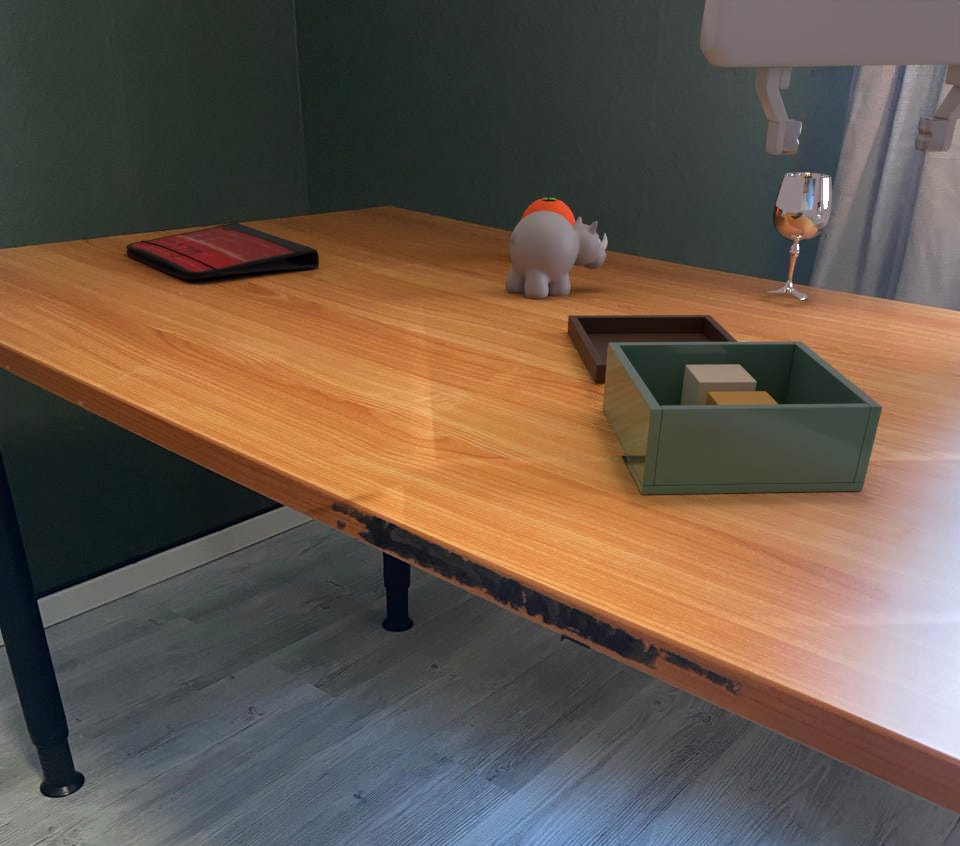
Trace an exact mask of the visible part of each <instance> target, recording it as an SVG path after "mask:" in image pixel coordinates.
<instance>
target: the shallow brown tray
mask: <svg viewBox="0 0 960 846" xmlns="http://www.w3.org/2000/svg"><path fill="white" fill-rule="evenodd" d="M567 334H568V336H569V338H570V340H571V341H572V342H571V343H572V344H573V345H574V347H575V349H576V351H577V353H578V355H579V357H580V358H581V360H582V362H583V364H584V366H585V368H586V370H587V371H588V373H589V375H590V377H591V379H592V381H593V383H594V384H595V385H605V375H606V363H607V351H608V343H609V342H617V343H619V342H739V341H738V340H737V339H736V338H735V337H734V336H732V335H731V334H730V332H729V331H727V330H726V329H725V328H724V326H722V325H721V324H720V323H719V322H718V321H717V320H716V319H715V318H714V317H713V316H712V315H711V314H626V315H625V314H621V315H620V314H613V315H611V314H608V315H607V314H605V315H604V314H601V315H600V314H599V315H593V314H592V315H588V314H587V315H586V314H585V315H580V314H579V315H574V314H573V315H568V317H567Z"/></svg>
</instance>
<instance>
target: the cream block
mask: <svg viewBox="0 0 960 846" xmlns="http://www.w3.org/2000/svg"><path fill="white" fill-rule="evenodd" d="M755 388H756V381H755V380H754V379H753V378H752V377H751V376H750V375H749V373H748V372H747V371H746V370H745V369H744V368H743V367H742V366H741V365H739V364H721V365H686V366H685V373H684V381H683V389H682V397H681V405H706V401H707V393H708V392H742V391H755Z"/></svg>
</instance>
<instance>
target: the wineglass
mask: <svg viewBox="0 0 960 846" xmlns="http://www.w3.org/2000/svg"><path fill="white" fill-rule="evenodd" d="M832 185H833V184H832V176H831V175H829V174H825V173H818V172H800V171H799V172H797V171H795V172H787V173H785V174H784V175H783V177H782V180H781V183H780V186H779V188H778V191H777V193H776V196H775V197H776V198H775V200H774V204H773V211H772V223H773V227H774V229H775V231H776V232H777V233H778V234H779V235H780V236H782V237H783V238H785V239H787V240H789V241H791V242H792V243H793V244H792V245H791V247H790V250H789V269H788V274H787V279H786V283H785V284H784V285H783V286H782V287H781V288H777V289H771V290H768V291H766V294H768V293H769V294H777V293H778V294H781V293H785V294H786V293H787V294H792V295H793V296H795V297H797V298H798V299H799V300H801V301H803V300H807V299H808V298H809V295H808V294H807V293H805V292H803V291H799V290H797V289H795V287H794V285H793V277H794V271H795V266H796V263H797V259H798V257H799V256H800V251H801V247H800V243H801V242H805V241H808V240H811V239H813V238H815V237H817V236H819V235H820V234H821V233H822V232H823V231H824V229H825V228H826V227H827V224H828V222H829V220H830V216H831V212H832V201H833V186H832Z"/></svg>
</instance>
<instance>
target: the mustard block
mask: <svg viewBox="0 0 960 846" xmlns="http://www.w3.org/2000/svg"><path fill="white" fill-rule="evenodd" d="M770 404H778V403H777V402H776V401H775V400H774V399H773V398H772V397H771V396H770V395H769V394H768V393H767V392H766V391H742V392H708V393H707V401H706V405H770Z"/></svg>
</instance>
